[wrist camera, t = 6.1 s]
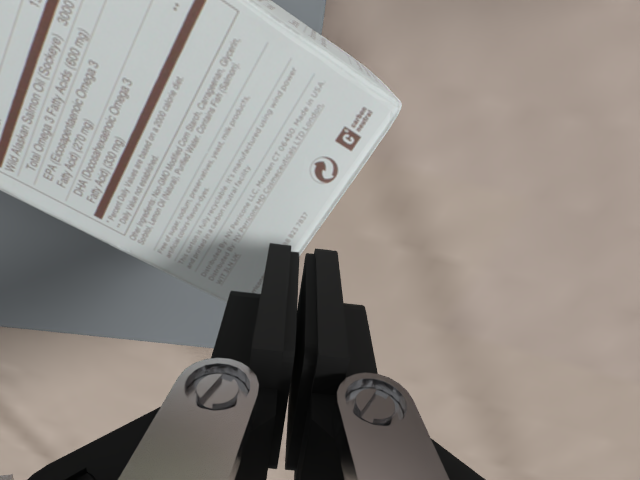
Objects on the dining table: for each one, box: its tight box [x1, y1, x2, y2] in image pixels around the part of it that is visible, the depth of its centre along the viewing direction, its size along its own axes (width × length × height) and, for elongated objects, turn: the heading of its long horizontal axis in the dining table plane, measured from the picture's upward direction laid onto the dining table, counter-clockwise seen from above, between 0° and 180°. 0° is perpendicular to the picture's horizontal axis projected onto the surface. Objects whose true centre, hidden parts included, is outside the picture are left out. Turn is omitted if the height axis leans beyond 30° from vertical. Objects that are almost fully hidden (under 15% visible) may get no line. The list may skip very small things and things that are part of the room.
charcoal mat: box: [0, 0, 326, 348], centre depth 18 cm, size 20×16×1 cm
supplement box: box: [0, 0, 402, 303], centre depth 14 cm, size 7×7×13 cm
